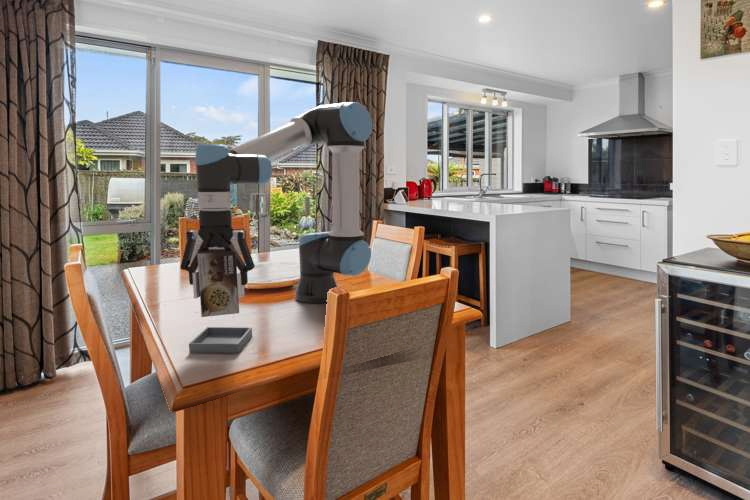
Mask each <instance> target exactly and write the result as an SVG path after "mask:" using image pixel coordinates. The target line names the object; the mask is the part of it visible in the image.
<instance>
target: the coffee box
mask: <svg viewBox="0 0 750 500" xmlns="http://www.w3.org/2000/svg"><path fill="white" fill-rule="evenodd" d="M199 249H200V248H198V249H197V253H196V254H197V258H198V267H197V271H198V272H199V286H200V298H199V299H200V317H201V318H205V317H216V316H225V315H226V316H228V315H234V314H240V305H239V304H240V303H239V302H240V299H238V282H237V273H238V267H237V265H236V251H237V249H236V248H235V249H236V250H235V249H234V250H233V251H226V250H225V249H224V248H223V247H222V248H219V247H209V248H208V249H206V250H199Z"/></svg>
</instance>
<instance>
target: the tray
mask: <svg viewBox="0 0 750 500" xmlns="http://www.w3.org/2000/svg"><path fill="white" fill-rule="evenodd" d="M252 338H253V328H252V326H251V327H248V326H247V327H242V326H241V327H240V326H235V327H234V326H231V327H230V326H206V328H204V329H203V330H202V332H200V333H199V334H198V335H197V336H196V337H195V338H193V339H192V340H191V341H190V342H189V343H188V348H189V354H196V355H197V354H198V355H200V354H206V355H207V354H213V355H217V354H220V355H221V354H222V355H224V354H225V355H239V354H240V353H241V351H242V350H243V349H244V348H245V346H246V345H247V344H248V342H249V341H250V340H251V339H252Z"/></svg>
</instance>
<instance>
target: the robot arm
mask: <svg viewBox="0 0 750 500" xmlns="http://www.w3.org/2000/svg"><path fill="white" fill-rule="evenodd" d="M372 132H373V121H372V117H371V114H370V112H369V111H368V109H367V108H366V106H365V105H363V104H361V103H360V102H357V101H344V102H339V103H331V104H322V105H318V106H316V107H314V108H312V109H309V110H308V111H306V112H303V113H301V114H299V115H297V116H295V117H292V118H291V119H290V121H289V123H287V124H285V125H283V126H280V127H278V128H276V129H274V130H271V131H269V132H267V133H265V134H264V133H263V134H262V135H259V136H257V137H256V138H253V139H251V140H249V141H246V142H244V143H241V144H240V145H237V146H234V147H233V148H230V149H229V147H228V146H227V145H226V144H212V143H211V144H209V143H206V144H202V143H201V144H198V145H197V146H196V147H195V164H194V165H195V171H196V183H197V185H196V187H197V202H198V205H197V207H198V208H199V209H200V210H199V211H198V221H199V222H198V224H199V229H198V230H194V229H191V230H188V231H186V240H187V241H186V244H185V247H184V252H183V255H182V259H181V264H180V267H179V268H180V269H181V270H182V271H183V270H184V271H186V272H188V283H189V285H191V286H193V299H199V297H200V286H199V272H198V258H197V253H196V254H195V256H194V258H193V259H192V257H193V254H194V249H195V245H196V241H197V239H198V238H200V239H201V240H202V242H201V244H200V246H199V248H198V249H199V250H206V249H208V248H224V249H225V250H226V251H233V250H234V249H235V250H236V265H237V270H239V272H238V271H237V282H238V299H239V300H242V299H243V298H244V297H245V286H246V285H247V284H248V282H249V280H248V272H249V271H252V270H253V269H255V267H256V266H255V263H254V260H253V258H252V255H251V251H250V249H249V247H248V244H247V241H246V231H245V230H241V231H240V230H234V229H233V225H232V224H233V222H232V221H233V220H232V218H233V217H232V211H231V209H230V208H231V207H232V200H231V199H232V198H231V185H259V184H261V185H262V184H263V185H264V184H266V183H268V182H269V181H270V180H271V177H272V176H273V175H272V174H273V166H272V165H273V164H272V162H271V161H272V160H274V159H276V158H278V157H280V156H283V155H285V154H286V153H289V152H291V151H293V150H296V149H297V148H299V147H302V148H306V147H309V146H310V145H313V144H314V145H315V144H322V143H327V144H326V145H327V146H326V147H327V148H328V150H329V151H330V152H331V154H332V155H331V156H332V157H331V158H332V159H331V160H332V161H331V162H332V163H331V164H332V165H331V166H332V168H331V170H332V171H331V173H332V176H331V177H332V178H331V179H332V180H331V181H332V183H331V184H332V185H331V186H332V188H331V189H332V195H331V196H332V229H331V230H330V231H320V232H312V233H311V232H310V233H303V234H302V235H301V236H300V238H299V246H298V250H299V272H300V274H299V279H298V282H297V286H296V290H295V300H296V301H298V302H301V303H304V304H305V303H306V304H325V303H326V300H327V292H328V291H329V289H331V288H334V287H338V285H337V281H336V277H335V274H341V275H343V276H352V277H354V276H356V277H357V276H359V275H361V274H362V273H364V272H365V271H366V269H367V268H368V266H369V265H370V262H371V259H372V249H371V246H370V244H369V243H368V242H367V241H365V240H364V239H365V238H364V235H365V234H364V232H363V231H362V230H361V228H360V156H361V155H360V153H361V152H362V151H363V150H364V149H365V141H367V140H369V138H370V136H371V135H372ZM233 237H234V238H235V240H236V241H237V244H238V246H239V250H240V252H241V254H242V257H241V256H240V254H239V252H238V251H237V249H236V248H235V245H234V243H233V242H232V241H231V240H232V238H233ZM242 258H243V259H242Z"/></svg>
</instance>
